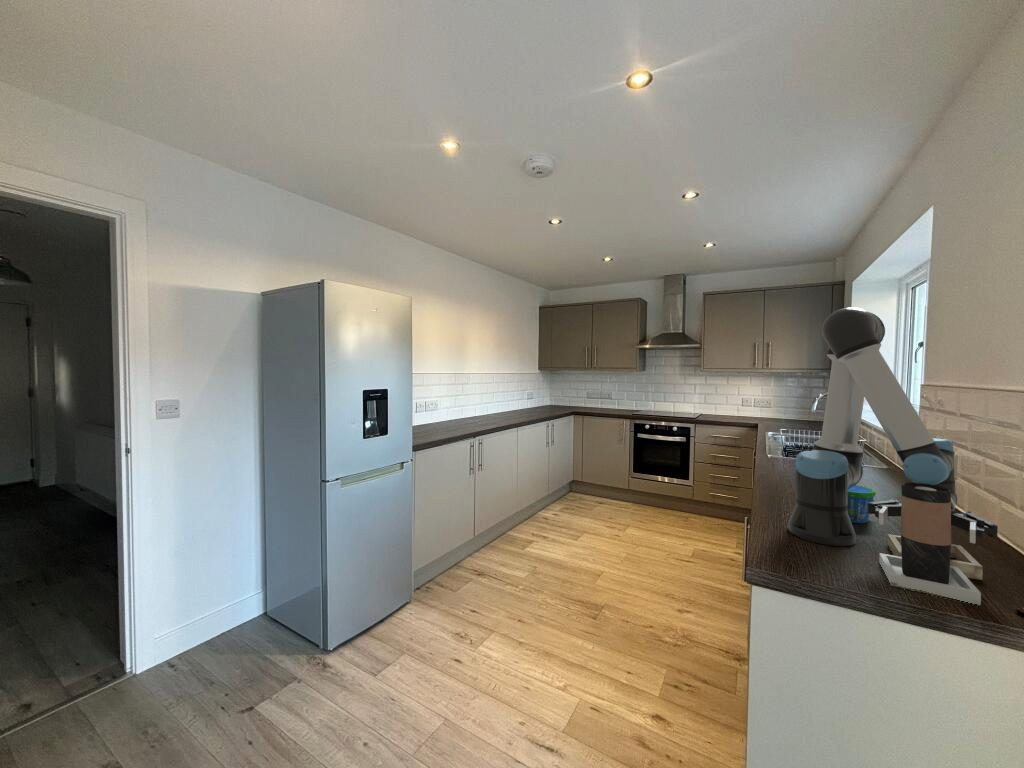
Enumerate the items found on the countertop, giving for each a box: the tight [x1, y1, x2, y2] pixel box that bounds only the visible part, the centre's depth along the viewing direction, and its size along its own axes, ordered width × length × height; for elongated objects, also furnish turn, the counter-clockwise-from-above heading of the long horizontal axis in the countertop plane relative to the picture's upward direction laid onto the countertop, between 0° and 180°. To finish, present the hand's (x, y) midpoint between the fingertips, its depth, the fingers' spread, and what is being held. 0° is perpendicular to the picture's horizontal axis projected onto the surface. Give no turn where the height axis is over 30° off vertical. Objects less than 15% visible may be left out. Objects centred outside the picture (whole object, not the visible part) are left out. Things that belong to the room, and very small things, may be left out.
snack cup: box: [847, 484, 877, 524], centre depth 126 cm, size 16×10×10 cm
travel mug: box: [900, 482, 952, 585], centre depth 88 cm, size 8×8×20 cm
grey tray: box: [878, 552, 982, 606], centre depth 88 cm, size 13×13×2 cm
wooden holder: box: [887, 533, 984, 581], centre depth 98 cm, size 13×13×3 cm
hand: (924, 527), depth 85 cm, fingers open, 13 cm apart
